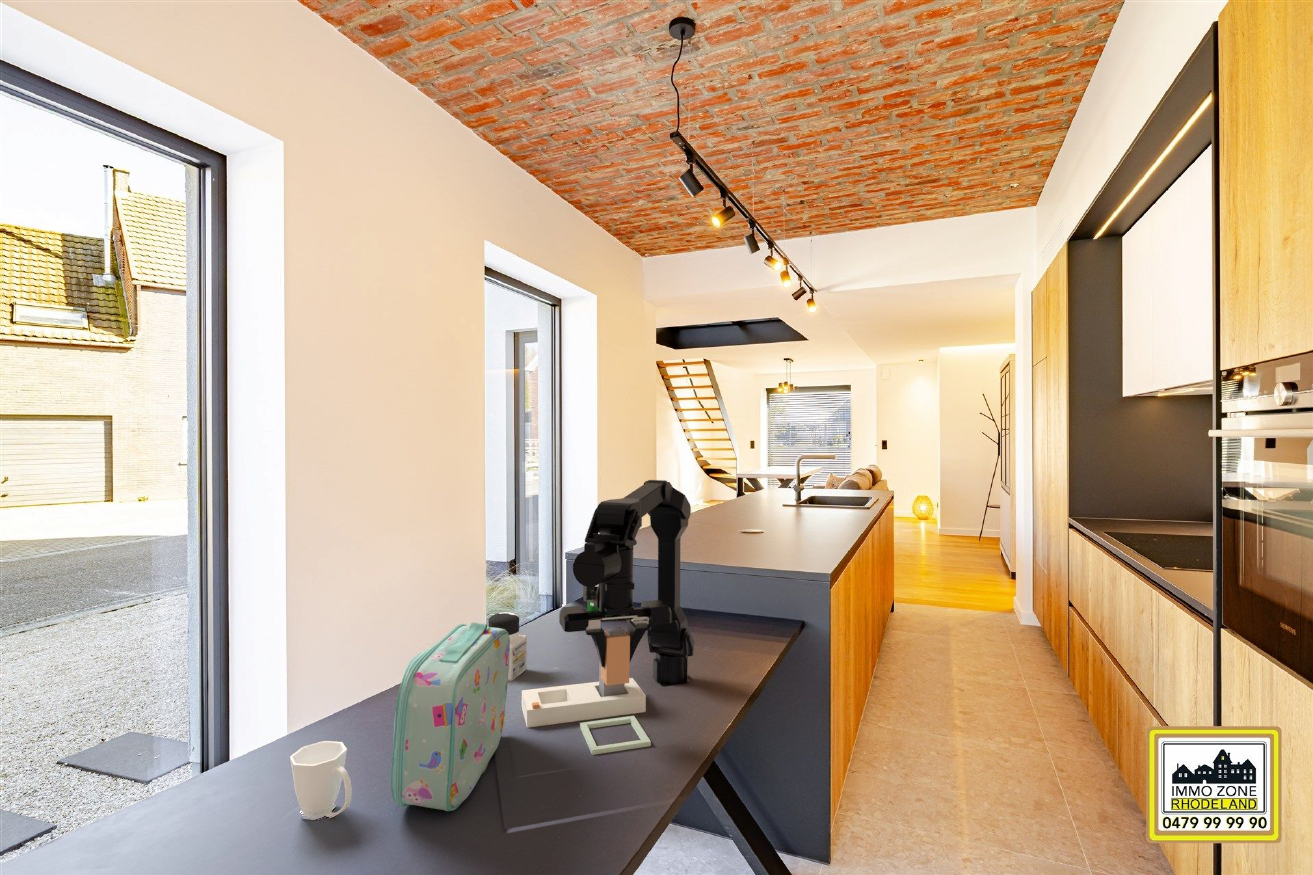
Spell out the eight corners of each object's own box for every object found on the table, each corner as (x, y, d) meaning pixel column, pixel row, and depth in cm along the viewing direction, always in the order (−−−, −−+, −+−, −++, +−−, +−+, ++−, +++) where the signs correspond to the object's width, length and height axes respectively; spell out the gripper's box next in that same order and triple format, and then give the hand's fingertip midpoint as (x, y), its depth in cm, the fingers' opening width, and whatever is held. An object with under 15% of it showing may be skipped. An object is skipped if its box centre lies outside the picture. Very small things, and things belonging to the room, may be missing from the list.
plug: (623, 674, 108) (623, 625, 108) (629, 682, 104) (630, 632, 104) (600, 676, 107) (601, 627, 107) (606, 685, 103) (607, 634, 103)
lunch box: (454, 730, 108) (456, 608, 108) (511, 731, 108) (513, 610, 108) (381, 825, 81) (384, 663, 81) (458, 827, 81) (460, 665, 81)
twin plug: (618, 699, 120) (619, 655, 120) (624, 708, 117) (624, 662, 117) (598, 702, 119) (599, 657, 119) (603, 710, 115) (604, 665, 115)
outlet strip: (632, 695, 124) (632, 674, 124) (645, 714, 115) (645, 692, 115) (521, 708, 117) (521, 687, 117) (526, 730, 108) (527, 706, 108)
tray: (633, 722, 112) (634, 715, 112) (650, 748, 102) (650, 741, 102) (579, 729, 109) (580, 722, 109) (592, 757, 99) (592, 750, 99)
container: (512, 682, 129) (512, 621, 129) (478, 679, 131) (479, 618, 131) (526, 669, 137) (527, 611, 137) (494, 666, 138) (495, 608, 138)
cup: (325, 791, 89) (326, 735, 89) (372, 811, 84) (373, 752, 84) (276, 817, 83) (277, 757, 83) (324, 840, 78) (325, 776, 78)
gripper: (653, 562, 116) (652, 645, 116) (555, 567, 110) (553, 654, 110) (673, 575, 106) (672, 665, 106) (565, 581, 100) (564, 677, 100)
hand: (615, 665), depth 106 cm, fingers closed on plug, 4 cm apart
